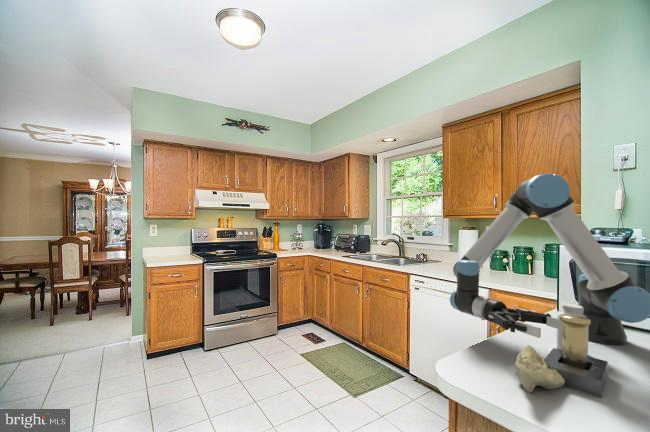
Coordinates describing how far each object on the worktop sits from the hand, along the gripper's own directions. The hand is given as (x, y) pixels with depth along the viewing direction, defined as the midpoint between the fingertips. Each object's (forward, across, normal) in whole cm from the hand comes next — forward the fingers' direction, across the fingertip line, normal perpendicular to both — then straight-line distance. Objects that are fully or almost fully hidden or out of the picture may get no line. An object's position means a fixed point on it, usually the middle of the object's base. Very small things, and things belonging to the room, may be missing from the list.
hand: (555, 330), depth 88 cm
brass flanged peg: (+5, 0, -11) cm, 12 cm away
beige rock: (+6, +16, -11) cm, 21 cm away
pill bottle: (-6, -19, -11) cm, 23 cm away
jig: (+5, 0, -11) cm, 12 cm away
